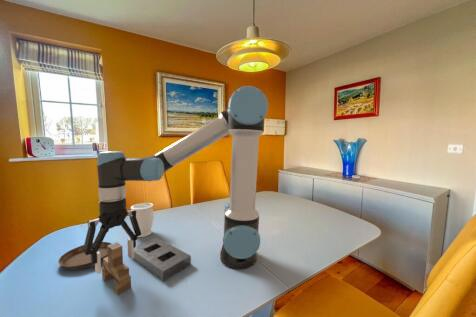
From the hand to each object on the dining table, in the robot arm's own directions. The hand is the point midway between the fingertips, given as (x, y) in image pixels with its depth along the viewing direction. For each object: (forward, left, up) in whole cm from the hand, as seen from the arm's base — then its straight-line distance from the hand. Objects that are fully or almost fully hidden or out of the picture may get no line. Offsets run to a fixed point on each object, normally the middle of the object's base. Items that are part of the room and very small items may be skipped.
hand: (115, 264), depth 67 cm
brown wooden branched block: (0, 0, -7) cm, 7 cm away
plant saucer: (+24, +1, -7) cm, 25 cm away
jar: (+28, -24, -7) cm, 37 cm away
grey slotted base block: (0, -16, -7) cm, 17 cm away
